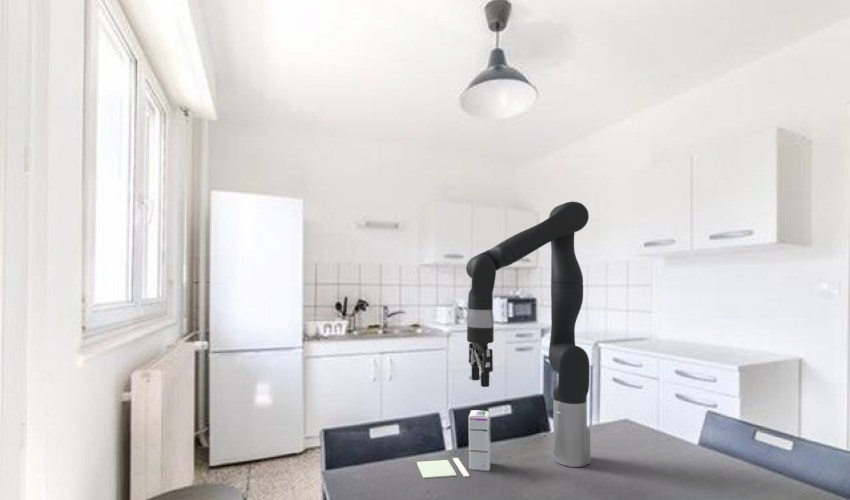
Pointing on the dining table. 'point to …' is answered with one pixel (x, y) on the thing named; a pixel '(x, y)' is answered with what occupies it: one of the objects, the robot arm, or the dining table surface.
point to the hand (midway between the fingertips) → (480, 383)
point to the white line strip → (461, 467)
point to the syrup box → (479, 440)
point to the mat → (436, 469)
